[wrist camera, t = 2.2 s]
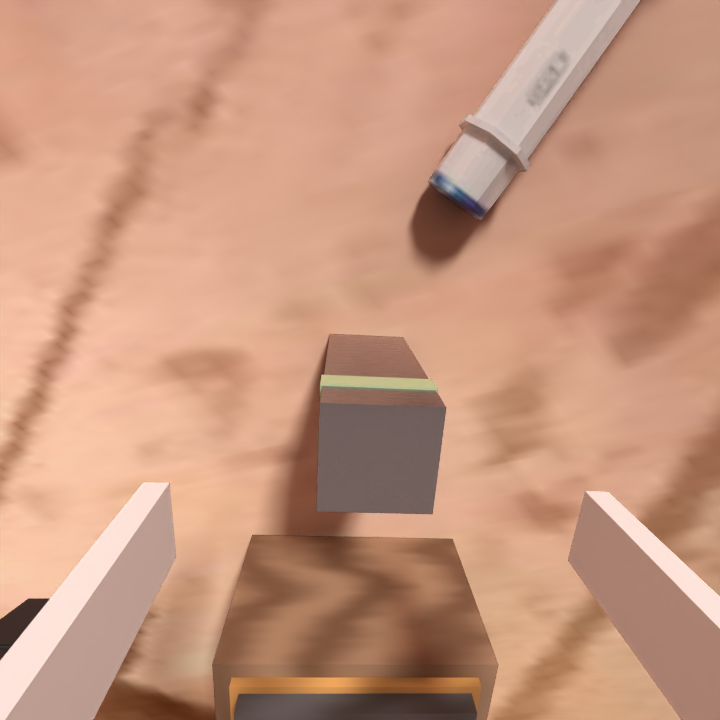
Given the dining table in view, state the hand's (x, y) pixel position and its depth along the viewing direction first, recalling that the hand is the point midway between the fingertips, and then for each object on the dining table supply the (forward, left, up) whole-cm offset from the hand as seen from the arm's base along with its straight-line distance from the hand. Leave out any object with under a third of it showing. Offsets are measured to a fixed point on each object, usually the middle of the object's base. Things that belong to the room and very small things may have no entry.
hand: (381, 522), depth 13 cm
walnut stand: (0, +22, -16) cm, 27 cm away
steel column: (0, 0, -16) cm, 16 cm away
